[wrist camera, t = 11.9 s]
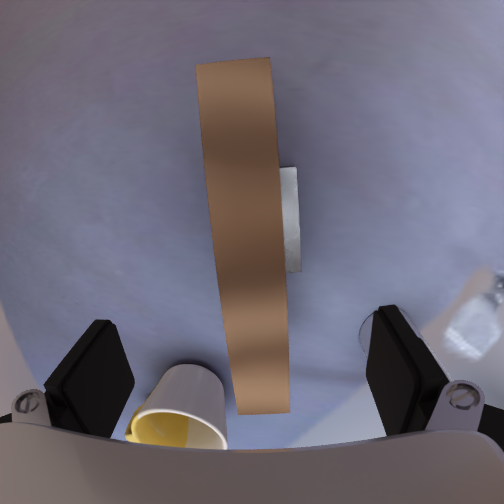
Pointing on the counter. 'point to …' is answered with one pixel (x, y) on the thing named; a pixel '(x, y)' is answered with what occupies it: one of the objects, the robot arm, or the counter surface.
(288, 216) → the ridge
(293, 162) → the counter surface
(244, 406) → the walnut beam
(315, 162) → the counter surface
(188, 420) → the mug
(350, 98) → the counter surface
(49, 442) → the robot arm
